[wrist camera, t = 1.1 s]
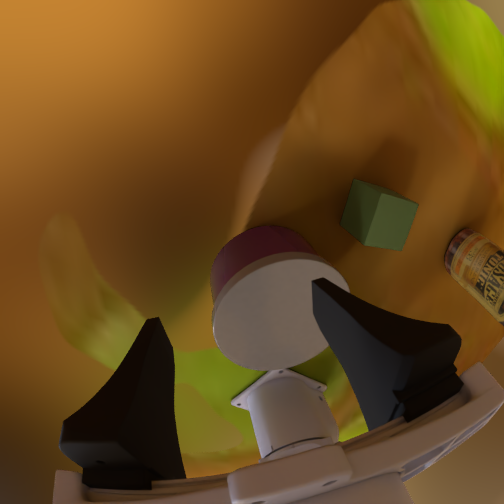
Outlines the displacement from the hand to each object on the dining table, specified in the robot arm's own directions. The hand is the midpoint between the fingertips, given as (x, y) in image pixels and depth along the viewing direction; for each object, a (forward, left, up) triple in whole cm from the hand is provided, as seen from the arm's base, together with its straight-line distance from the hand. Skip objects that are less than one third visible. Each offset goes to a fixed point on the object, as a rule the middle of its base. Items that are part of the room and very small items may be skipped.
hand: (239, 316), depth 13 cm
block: (-8, -9, -10) cm, 16 cm away
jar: (-5, +1, -10) cm, 11 cm away
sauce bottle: (-23, -15, -10) cm, 29 cm away
